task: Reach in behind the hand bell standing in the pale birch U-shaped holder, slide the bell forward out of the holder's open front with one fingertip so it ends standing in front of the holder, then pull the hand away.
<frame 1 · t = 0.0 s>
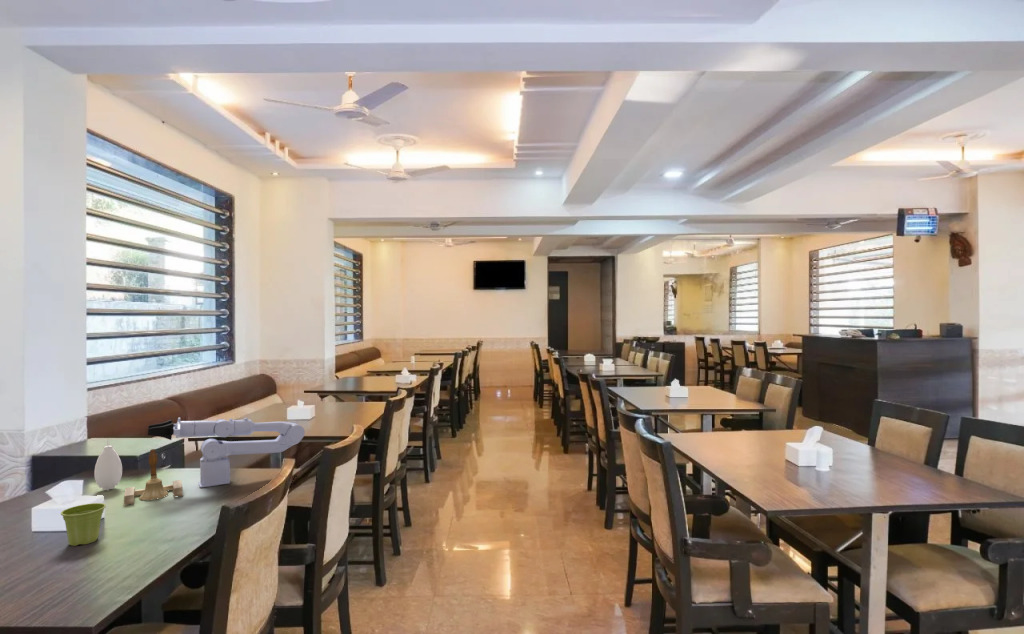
hand: (148, 430, 188), 22 cm above the table, tool horizontal, fingers open, 7 cm apart
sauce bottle: (108, 490, 193), on the table
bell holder: (154, 497, 183), on the table
hand bell: (154, 497, 183), on the table
plant pot: (83, 542, 144), on the table
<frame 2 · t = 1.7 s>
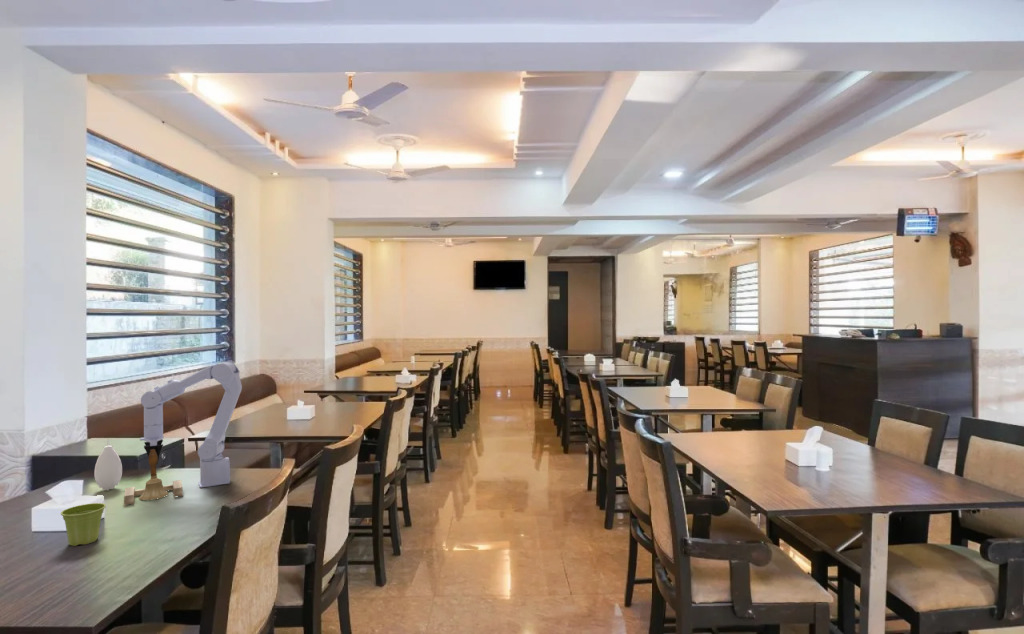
hand: (153, 462, 194), 9 cm above the table, tool pointing down, fingers open, 7 cm apart
nothing on the table moved.
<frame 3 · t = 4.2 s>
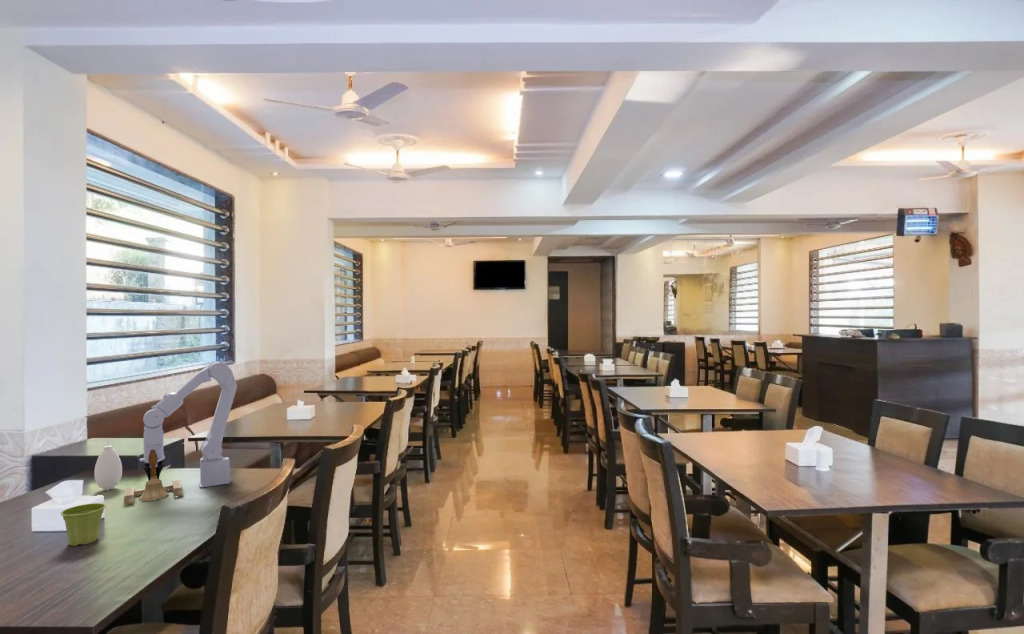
hand: (153, 484, 188), 3 cm above the table, tool pointing down, fingers open, 6 cm apart
hand bell: (154, 498, 183), on the table, touching gripper
everything else where it was.
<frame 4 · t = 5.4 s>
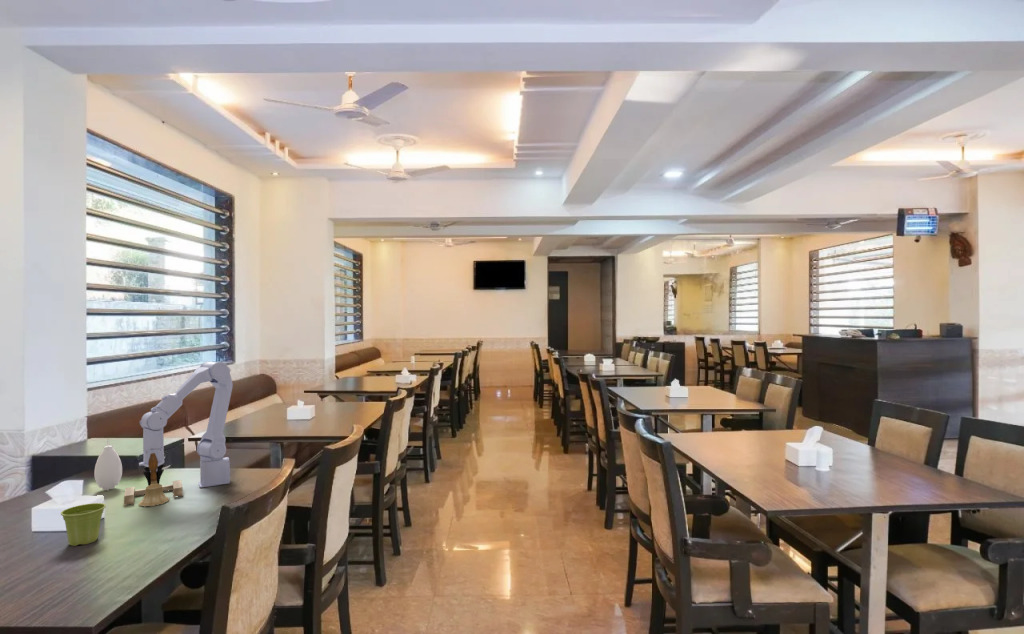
hand: (153, 489, 182), 3 cm above the table, tool pointing down, fingers open, 6 cm apart
hand bell: (154, 503, 177), on the table, touching gripper
everything else where it was.
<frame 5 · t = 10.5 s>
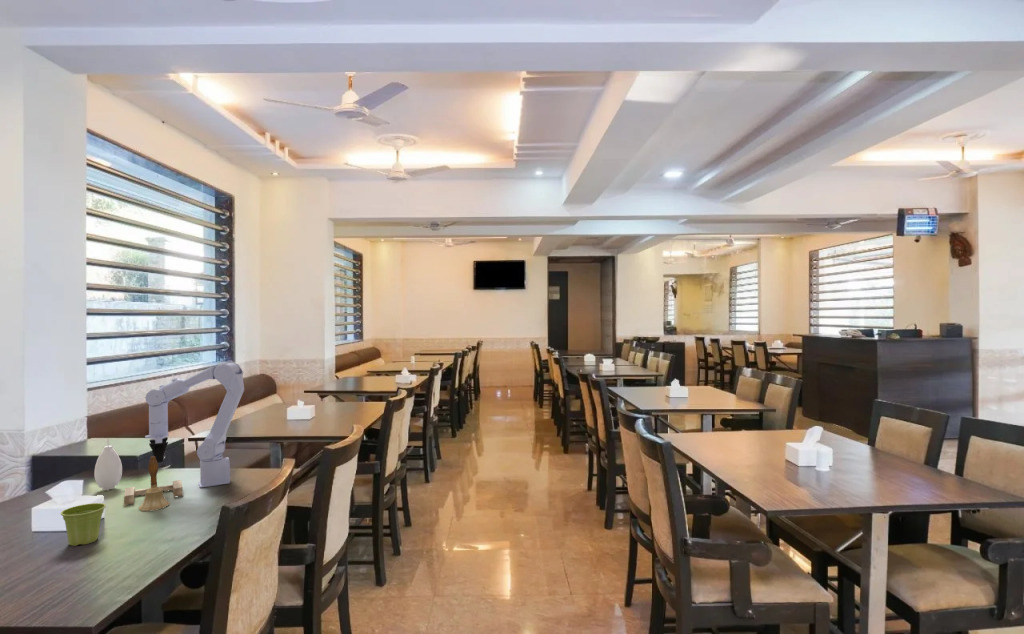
hand: (158, 460, 196), 9 cm above the table, tool pointing down, fingers open, 7 cm apart
hand bell: (154, 507, 172), on the table
everything else where it was.
at the end: hand bell inside the target area on the table beside the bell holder (2.1 cm from its centre), on the table; hand bell tilted 0° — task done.
